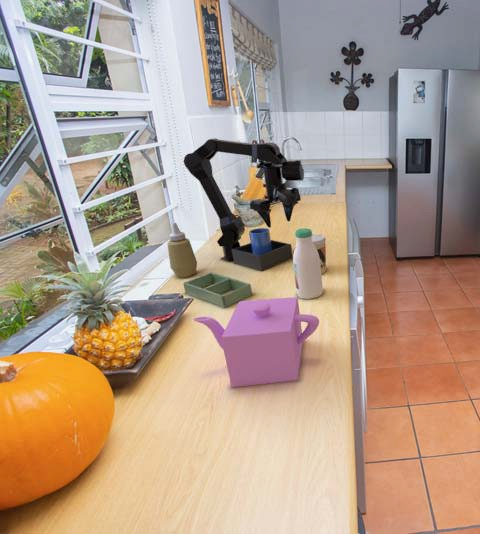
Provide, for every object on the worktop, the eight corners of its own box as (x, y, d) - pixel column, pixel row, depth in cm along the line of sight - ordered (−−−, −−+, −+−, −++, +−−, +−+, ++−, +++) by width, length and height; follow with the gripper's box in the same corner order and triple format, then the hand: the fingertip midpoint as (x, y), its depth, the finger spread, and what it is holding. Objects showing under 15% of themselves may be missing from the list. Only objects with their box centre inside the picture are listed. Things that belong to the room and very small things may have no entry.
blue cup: (249, 260, 141) (245, 231, 137) (264, 255, 146) (260, 227, 142) (262, 264, 138) (258, 234, 134) (277, 258, 143) (273, 229, 139)
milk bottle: (327, 290, 119) (322, 227, 111) (314, 301, 112) (307, 235, 104) (305, 286, 121) (299, 225, 114) (291, 297, 114) (283, 232, 107)
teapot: (215, 348, 90) (203, 294, 85) (323, 337, 94) (318, 285, 89) (193, 391, 77) (177, 330, 71) (321, 377, 80) (315, 318, 75)
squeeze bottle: (204, 272, 133) (193, 221, 126) (183, 280, 126) (170, 227, 119) (188, 268, 136) (176, 218, 129) (167, 276, 129) (153, 225, 122)
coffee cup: (322, 277, 128) (318, 242, 123) (295, 275, 130) (291, 241, 125) (332, 266, 136) (329, 234, 132) (307, 265, 138) (304, 232, 133)
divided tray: (185, 293, 118) (183, 282, 116) (213, 281, 125) (211, 272, 124) (224, 307, 109) (222, 296, 107) (252, 294, 116) (250, 284, 115)
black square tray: (234, 263, 140) (231, 249, 138) (265, 251, 152) (263, 238, 149) (261, 271, 133) (259, 256, 131) (292, 258, 145) (291, 244, 142)
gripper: (268, 187, 123) (275, 234, 129) (309, 178, 138) (313, 221, 144) (245, 184, 128) (252, 229, 134) (287, 176, 143) (292, 217, 149)
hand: (279, 224), depth 140 cm, fingers open, 9 cm apart
